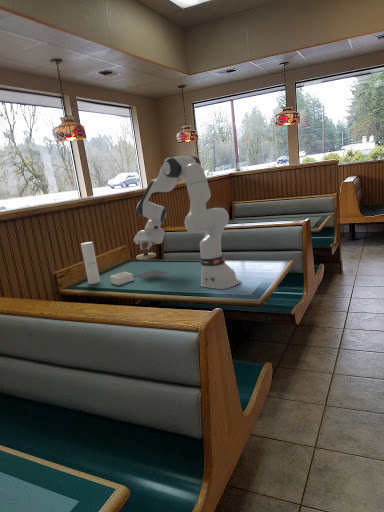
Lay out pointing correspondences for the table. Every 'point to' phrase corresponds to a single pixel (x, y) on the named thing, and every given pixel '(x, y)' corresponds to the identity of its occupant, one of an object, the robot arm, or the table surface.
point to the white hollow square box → (121, 278)
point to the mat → (150, 274)
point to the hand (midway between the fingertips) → (144, 249)
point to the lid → (145, 253)
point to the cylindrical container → (90, 262)
